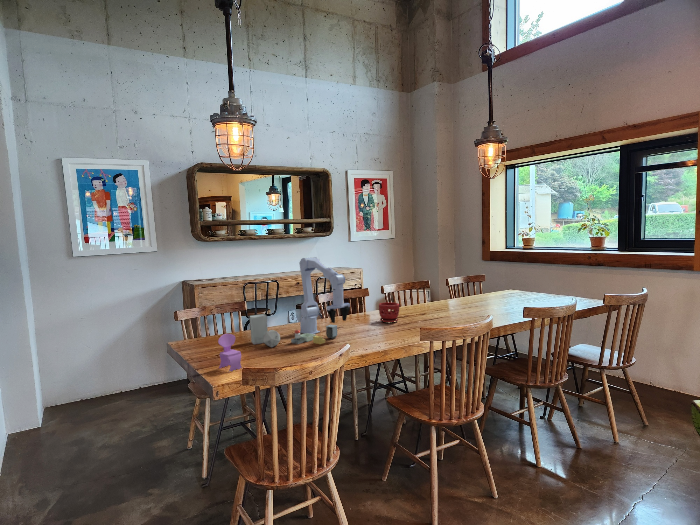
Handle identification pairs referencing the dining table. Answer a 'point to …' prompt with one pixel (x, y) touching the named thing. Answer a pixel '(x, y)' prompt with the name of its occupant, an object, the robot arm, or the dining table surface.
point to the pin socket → (297, 341)
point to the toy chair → (229, 353)
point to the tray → (307, 337)
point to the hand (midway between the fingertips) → (338, 321)
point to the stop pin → (297, 334)
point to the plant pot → (389, 315)
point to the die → (271, 338)
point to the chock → (318, 340)
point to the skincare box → (258, 328)
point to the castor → (331, 331)
